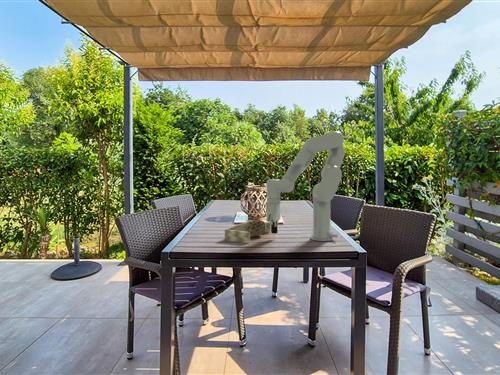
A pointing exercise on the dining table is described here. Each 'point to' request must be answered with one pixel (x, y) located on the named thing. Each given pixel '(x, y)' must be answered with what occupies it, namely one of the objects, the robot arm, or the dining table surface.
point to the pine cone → (255, 227)
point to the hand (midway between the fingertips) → (274, 233)
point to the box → (241, 233)
